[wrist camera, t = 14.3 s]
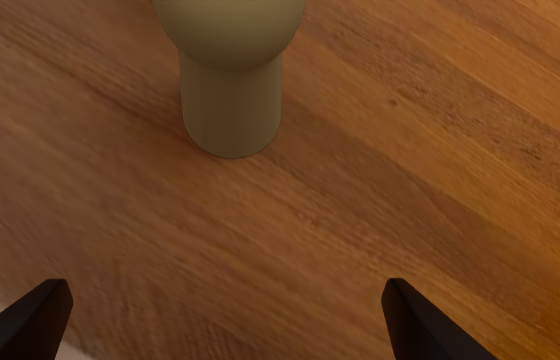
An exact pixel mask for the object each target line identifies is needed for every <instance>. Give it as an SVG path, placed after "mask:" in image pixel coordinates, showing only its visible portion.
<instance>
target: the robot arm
mask: <svg viewBox="0 0 560 360" xmlns="http://www.w3.org/2000/svg"><path fill="white" fill-rule="evenodd" d="M381 303H382V308H383V312H384V316H385V320H386V324H387V328H388V332H389V336H390V340H391V344H392V348H393V352H394V356H395V359H396V360H498V359H497V358H496V357H494V356H493V355H492V354H491V353H490V352H489V351H487V350H486V349H485V348H484V347H483V346H482V345H480V344H479V343H478V342H477V341H476V340H475V339H473V338H472V337H471V336H470V335H469V334H468V333H466V332H465V331H464V330H463V329H462V328H461V327H459V326H458V325H457V324H456V323H455V322H454V321H452V320H451V319H450V318H449V317H448V316H447V315H445V314H444V313H443V312H442V311H441V310H440V309H438V308H437V307H436V306H435V305H434V304H433V303H431V302H430V301H429V300H428V299H427V298H426V297H424V296H423V295H422V294H421V293H420V292H418V291H417V290H416V289H415V288H414V287H413V286H411V285H410V284H409V283H408V282H407V281H406V280H404V279H403V278H389V279H388V281H387V283H386V286H385V288H384V291H383V294H382V297H381ZM72 307H73V298H72V295H71V292H70V289H69V286H68V283H67V281H66V280H65V279H47V280H45V281H44V282H42V283H41V284H40V285H38V286H37V287H35V288H34V289H33V290H31V291H30V292H28V293H27V294H26V295H24V296H23V297H21V298H20V299H19V300H17V301H16V302H14V303H13V304H12V305H10V306H9V307H8V308H6V309H5V310H4V311H2V312H1V313H0V360H55V357H56V354H57V351H58V348H59V345H60V342H61V339H62V337H63V334H64V331H65V328H66V325H67V322H68V319H69V316H70V313H71V310H72Z"/></svg>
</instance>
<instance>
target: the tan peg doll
mask: <svg viewBox="0 0 560 360" xmlns="http://www.w3.org/2000/svg"><path fill="white" fill-rule="evenodd" d="M152 3H153V6H154V9H155V12H156V15H157V17H158V19H159V21H160V22H161V24H162V26H163V28H164V30H165V31H166V33H167V35H168V36H169V38H170V39H171V40H172V42H173V43H174V44H175V45H176V46H177V47H178V48H179V64H180V82H181V100H182V114H183V121H184V126H185V128H186V130H187V132H188V134H189V135H190V137H191V139H192V140H193V141H194V142H195V143H196V144H197V145H198V146H200V147H201V148H202V149H203V150H205V151H207V152H209V153H211V154H213V155H215V156H218V157H225V158H232V159H235V158H241V157H248V156H251V155H253V154H255V153H257V152H259V151H261V150H263V149H264V148H265V147H266V146H267V145H268V144H269V143H270V142H271V141H272V140H273V138H274V136H275V134H276V132H277V130H278V128H279V126H280V117H281V81H282V51H283V50H285V49H286V47H287V46H288V44H289V43H290V42H291V40H292V38H293V36H294V34H295V32H296V31H297V29H298V27H299V25H300V22H301V19H302V16H303V12H304V4H305V0H152Z"/></svg>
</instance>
